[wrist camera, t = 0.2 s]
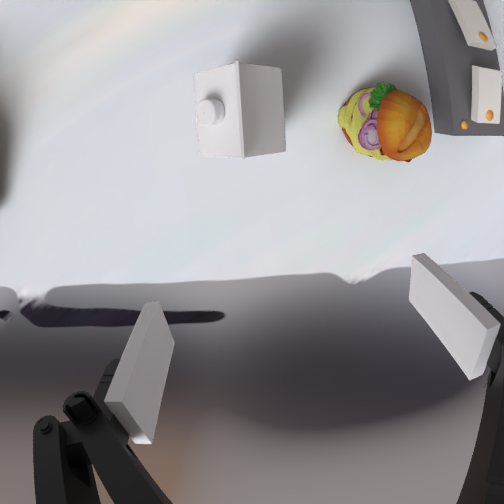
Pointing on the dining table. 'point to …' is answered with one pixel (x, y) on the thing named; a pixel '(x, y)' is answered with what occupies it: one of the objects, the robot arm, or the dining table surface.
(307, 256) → the dining table surface
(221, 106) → the milk carton
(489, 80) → the rocker
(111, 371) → the robot arm
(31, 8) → the dining table surface
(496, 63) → the power strip
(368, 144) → the cheeseburger
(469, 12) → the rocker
